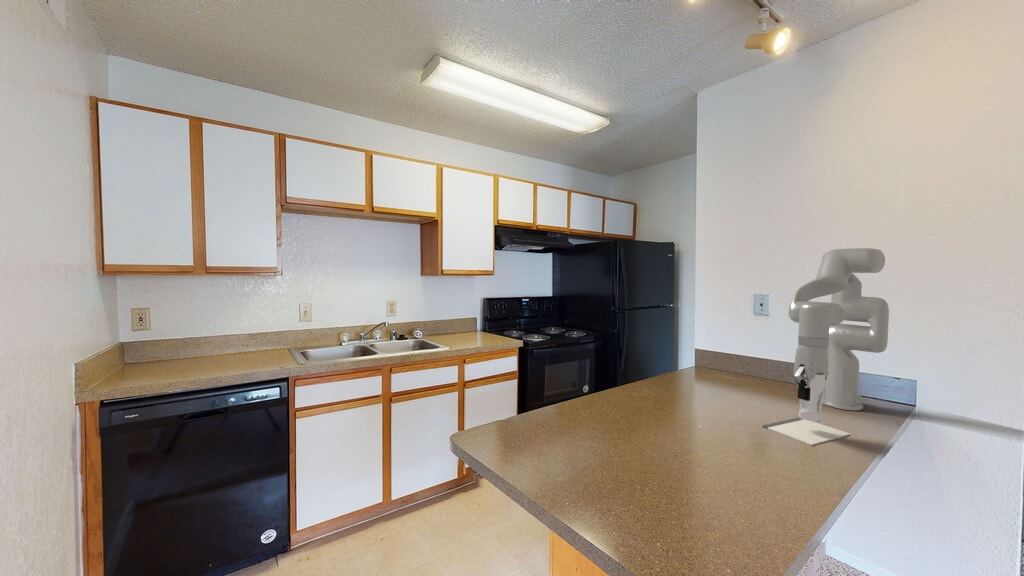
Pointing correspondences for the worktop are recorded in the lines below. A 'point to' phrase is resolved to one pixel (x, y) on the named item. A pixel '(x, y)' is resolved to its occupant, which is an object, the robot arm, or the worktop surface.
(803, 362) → the robot arm
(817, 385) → the beer glass
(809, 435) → the mat
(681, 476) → the worktop surface
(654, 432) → the worktop surface
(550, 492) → the worktop surface
